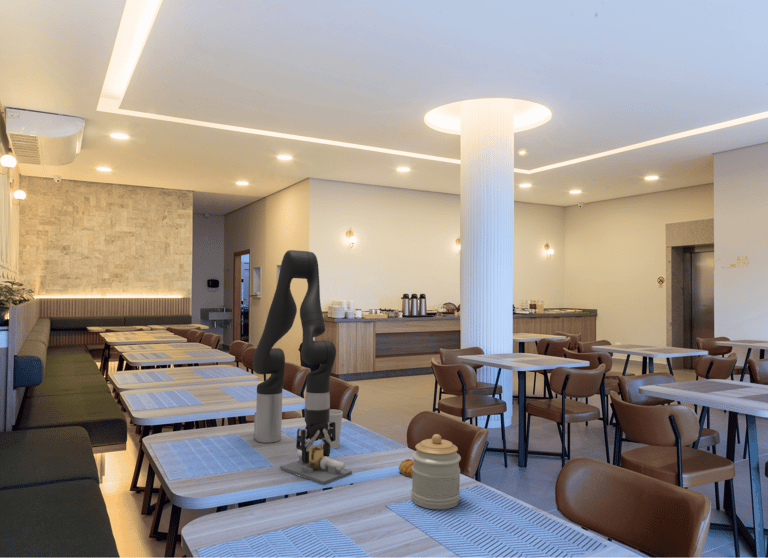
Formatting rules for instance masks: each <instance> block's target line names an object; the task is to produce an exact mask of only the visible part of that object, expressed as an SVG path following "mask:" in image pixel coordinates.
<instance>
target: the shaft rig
mask: <svg viewBox="0 0 768 558" xmlns="http://www.w3.org/2000/svg"><path fill="white" fill-rule="evenodd" d="M296 457H297V458H298V460H296V461H292V462H289V463H286V464H283V465H280V466H279V470H280V469H281V471H283V470H284V471H283V472H285V471H287V472H286V473H288V472H291V473H294V474H297V475H300V476H302V477H305V478H308V479H310V480H309V481H311V480H312V481H311V482H314V483H317V484H320V485H322V486H325V485H327V484H330V483H333V482H335V481H338V480H340V479H343V478H346V477H348V476H351V475H353V470H351V469H349V468H348V469H347V468H345V467H346V465H345V463H344V462H341V461H339V460H335V459H332V458H330V456H329V457H327V456H323V458H322V459H321V461H320V467H321V469H322V470H319V471H313V468H310V467H309V463H308V464H305V463H303V462H302V450H299V449H297V452H296ZM291 473H290V474H291ZM294 474H293V475H294ZM297 475H296V476H297ZM300 476H299V477H300ZM302 477H301V478H302ZM305 478H304V479H305ZM308 479H307V480H308Z"/></svg>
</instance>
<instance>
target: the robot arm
mask: <svg viewBox="0 0 768 558" xmlns="http://www.w3.org/2000/svg"><path fill="white" fill-rule="evenodd" d="M318 261H319V260H318V258H317V255H316V254H315V253H314V252H312V251H309V250H308V251H306V250H295V249H290V250H289V249H288V250H286V251H285V253H284V255H283V257H282V260H281V265H280V269H279V274H278V278H277V279H278V280H277V282H276V284H277V285H276V288H275V292H274V295H273V297H272V301H271V304H270V307H269V311H268V313H267V317H266V321H265V325H264V328H263V332H262V334H261V336H260V338H259V342H258V344H257V346H256V349H255V351H254V354H253V358H252V369H253V371H254V373H255V374H257V375H269V377H268V378H267V379H265V380H264V381H262V382H259V383H258V384H257V386H256V404H255V405H256V407H255V410H256V411H255V412H254V419H253V420H254V421H253V423H254V424H253V439H255V441H256V442H257V443H263V444H264V443H265V444H266V443H267V444H268V443H269V444H270V443H276V442H279V441H281V440H282V424H283V423H282V421H283V418H282V417H283V386H284V382H285V367H286V355H285V351H284V350H283V349H282V348H280V347H278V348H277V347H274V346H275V345H276V344H277V342H279V341H280V340H281V339H282V338H283V337H284V336H285V335H287V334H288V332H289V331H290V330H291V329H292V327H293V325H294V322H295V319H296V317H297V312H298V311H297V310H298V309H297V304H296V300H295V298H294V296H293V294H292V291H291V283H292V280H293V279H303V280H306V282H307V290H306V293H305V295H304V297H303V299H302V302H301V304H300V308H299V317H300V322H301V323H300V324H301V329H302V343H301V349H300V351H301V352H300V354H301V359H302V361H303V362H304V363H305V364H306V365H320V366H319V367H318V369H316V370H313V371H309V372H308V373H307V374H306V382H305V383H306V384H305V387H306V388H305V399H304V422H305V428H298V429H297V431H296V443H295V446H296V447H295V449H296V450H302V462H303V463H305V464H308V463H309V449H310V447H311V445H314V443H315V442H317V441H319V440H321V442H322V441H323V442H324V444H323V448H324V450H323V457H324V456H327V457H329V458H330V454H331V449H330V444H331V443H332V442H333V441H335V440H336V430H335V422H331V421H329V415H330V410H331V407H330V406H331V397H330V378H331V374H332V370H333V367H334V364H335V361H336V356H337V349H336V346H335V344H334V342H332V341H331V340H314V338H316V337H320V336H322V335H323V334H324V333H325V332H326V324H325V321H324V320H325V319H324V315H323V311H322V305H321V291H320V290H321V289H320V286H321V285H320V271H319V269H320V268H319V262H318ZM331 434H332V436H331Z"/></svg>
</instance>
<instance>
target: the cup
mask: <svg viewBox="0 0 768 558" xmlns="http://www.w3.org/2000/svg"><path fill="white" fill-rule="evenodd" d="M343 414H344V413H343V411H342V410H339V409H330V415H329V421H331V422H335V430H336V440H335V441H333V442H332V443H331V444H330V450H331V449H332V448H334V449H337V448H340V447H341V445H340V442H341V432H342V431H341V430H342V420H343ZM331 436H332V434H331ZM323 444H324V442H323V441H322V440H321V445H322V447H323Z"/></svg>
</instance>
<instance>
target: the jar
mask: <svg viewBox="0 0 768 558" xmlns="http://www.w3.org/2000/svg"><path fill="white" fill-rule="evenodd" d="M415 449H416V450H415V451H414V452H413V453H412V454H411V456H412V460H413V461H414V465H413V466H412V470H413V471H412V478H411V479H412V480H411V483H412V485H411V490H410V491H411V493H410V494H411V500H412V502H413V503H414V504H415V505H417V506H419V507H421V508H425V509H429V510H448V509H452V508H455V507H456V506H458V504H459V503H460V499H461V491H460V487H461V485H460V483H461V481H460V480H461V468H460V465H459V462H461V459H462V457H461V455H460V454H459V453H457V452H458V451H459V449H458V446H456V445H455V444H453V442H452V441H450V440H447V439H442V436H441V435H440V434H439V433H435V434H433V435H432V436H431V438H426V439H423V440H422V441H420V442H419V443H417V444H416V445H415Z"/></svg>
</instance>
